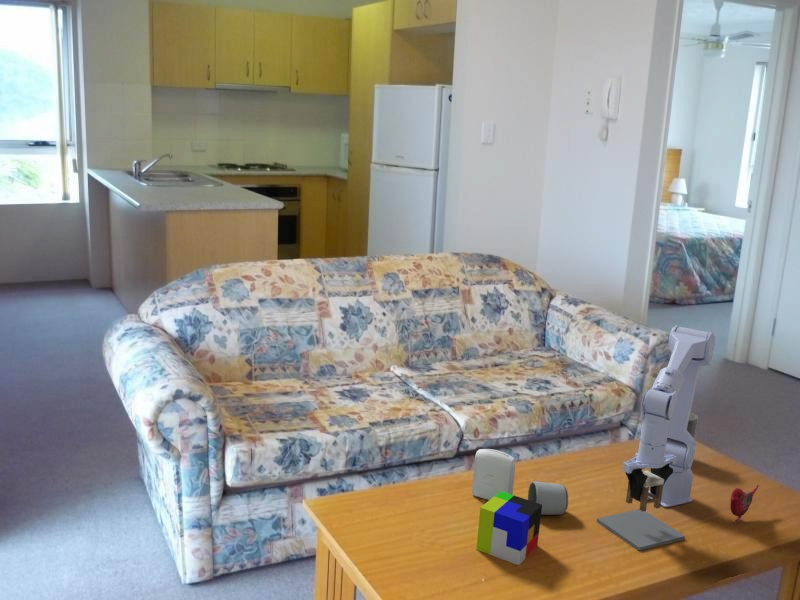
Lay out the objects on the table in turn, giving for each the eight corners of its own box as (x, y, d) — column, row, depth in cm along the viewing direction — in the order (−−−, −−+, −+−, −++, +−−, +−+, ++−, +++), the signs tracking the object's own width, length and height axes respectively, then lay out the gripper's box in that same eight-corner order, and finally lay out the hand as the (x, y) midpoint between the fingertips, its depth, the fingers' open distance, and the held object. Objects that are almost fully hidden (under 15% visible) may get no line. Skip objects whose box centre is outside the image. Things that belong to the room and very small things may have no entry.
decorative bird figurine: (720, 528, 196) (727, 489, 194) (748, 505, 209) (755, 468, 207) (732, 533, 194) (739, 494, 192) (760, 509, 207) (767, 472, 205)
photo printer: (468, 495, 204) (473, 449, 201) (475, 489, 208) (479, 443, 205) (508, 507, 199) (513, 459, 197) (514, 500, 203) (519, 453, 200)
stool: (643, 498, 195) (646, 470, 193) (660, 508, 190) (664, 479, 189) (625, 501, 192) (629, 473, 191) (642, 511, 187) (646, 482, 186)
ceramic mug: (567, 520, 195) (571, 490, 193) (534, 520, 194) (537, 489, 192) (554, 500, 205) (557, 471, 203) (522, 499, 204) (525, 470, 202)
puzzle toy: (518, 565, 174) (523, 522, 172) (476, 549, 179) (480, 507, 177) (537, 546, 183) (542, 504, 180) (496, 531, 188) (500, 491, 185)
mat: (640, 511, 202) (641, 508, 202) (684, 539, 190) (685, 536, 190) (596, 521, 195) (596, 518, 195) (638, 550, 183) (639, 547, 183)
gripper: (663, 430, 194) (655, 484, 197) (616, 438, 187) (608, 493, 191) (686, 442, 188) (677, 497, 191) (638, 451, 181) (630, 507, 184)
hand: (644, 496), depth 190 cm, fingers closed on stool, 5 cm apart
